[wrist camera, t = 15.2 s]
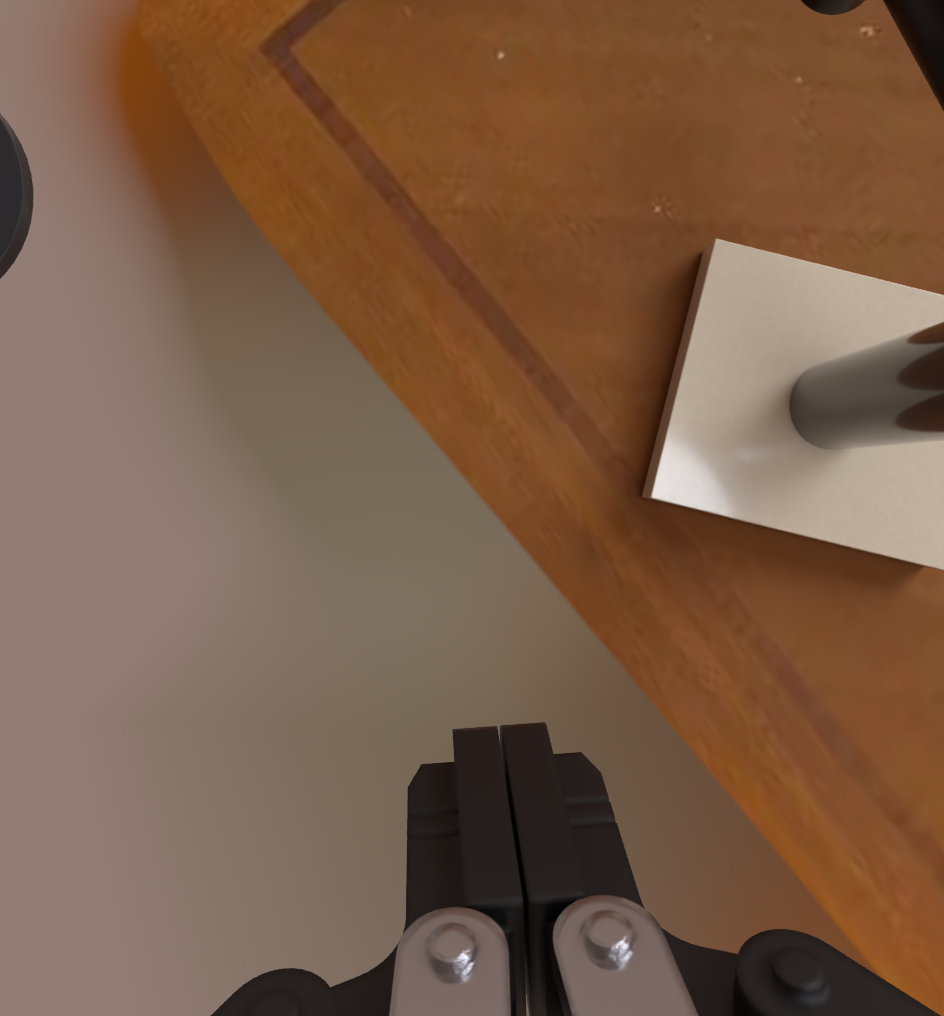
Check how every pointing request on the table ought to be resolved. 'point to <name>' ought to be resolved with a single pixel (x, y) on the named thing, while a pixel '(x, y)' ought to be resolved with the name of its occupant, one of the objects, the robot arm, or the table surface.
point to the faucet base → (751, 412)
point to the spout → (908, 32)
